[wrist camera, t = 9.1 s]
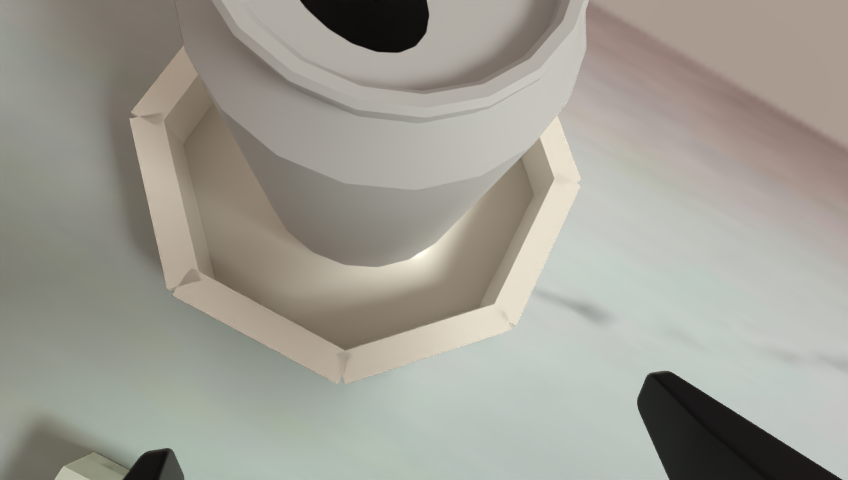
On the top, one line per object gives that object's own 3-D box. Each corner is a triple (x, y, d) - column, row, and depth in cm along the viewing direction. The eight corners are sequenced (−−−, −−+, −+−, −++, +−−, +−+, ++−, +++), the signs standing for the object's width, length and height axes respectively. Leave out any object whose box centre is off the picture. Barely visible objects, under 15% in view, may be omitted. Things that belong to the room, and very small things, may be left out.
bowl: (442, 433, 18) (459, 449, 15) (86, 242, 17) (41, 225, 15) (590, 122, 21) (623, 94, 19) (301, -46, 21) (295, -99, 18)
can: (224, 160, 18) (1, -164, 6) (376, 52, 20) (423, -354, 8) (357, 312, 18) (382, 268, 6) (498, 188, 19) (728, -31, 8)
